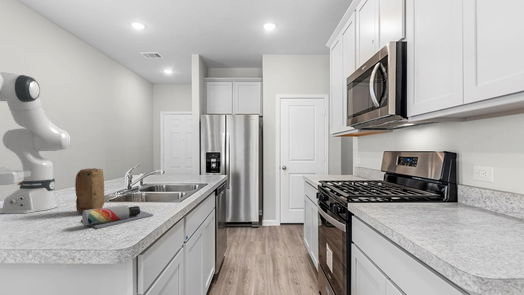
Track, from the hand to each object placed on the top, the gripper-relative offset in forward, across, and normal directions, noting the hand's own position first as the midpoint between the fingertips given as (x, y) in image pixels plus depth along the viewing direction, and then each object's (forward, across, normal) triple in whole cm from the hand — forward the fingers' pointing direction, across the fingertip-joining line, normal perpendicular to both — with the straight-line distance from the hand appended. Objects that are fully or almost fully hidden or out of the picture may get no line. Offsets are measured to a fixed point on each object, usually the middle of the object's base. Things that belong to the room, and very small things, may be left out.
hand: (29, 173), depth 86 cm
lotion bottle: (+14, -3, +18) cm, 23 cm away
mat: (+28, -1, +22) cm, 35 cm away
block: (+24, +20, +23) cm, 39 cm away
